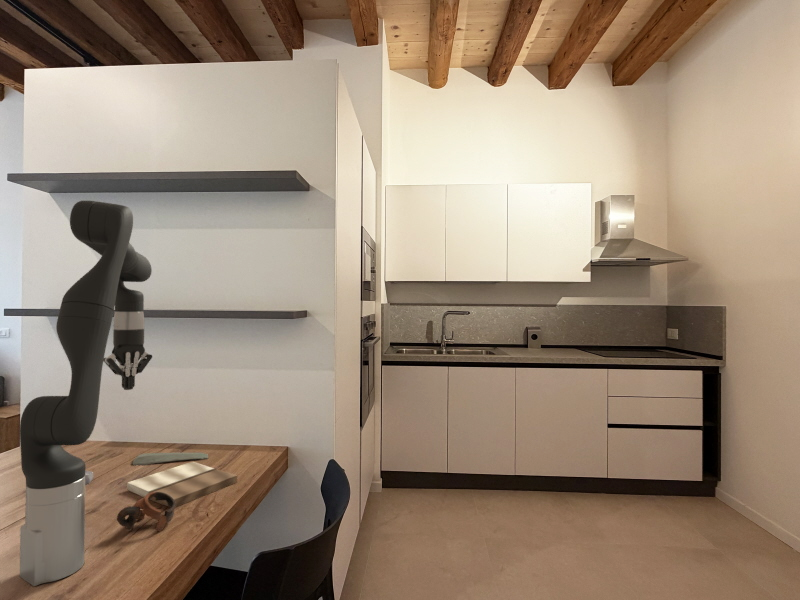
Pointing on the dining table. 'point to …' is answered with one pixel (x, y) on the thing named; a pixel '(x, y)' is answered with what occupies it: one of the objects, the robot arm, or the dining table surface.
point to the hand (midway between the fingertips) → (128, 389)
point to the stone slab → (166, 457)
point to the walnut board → (196, 486)
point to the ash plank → (165, 478)
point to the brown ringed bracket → (147, 511)
